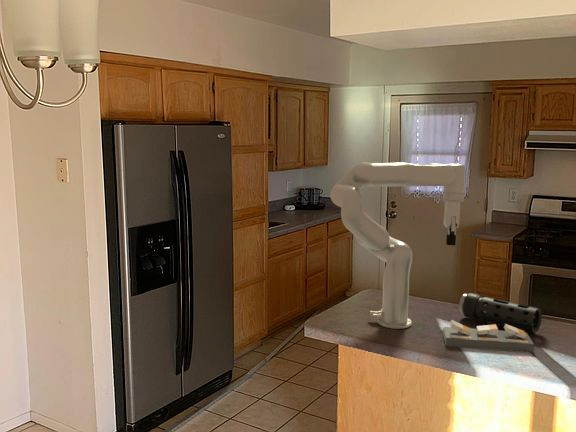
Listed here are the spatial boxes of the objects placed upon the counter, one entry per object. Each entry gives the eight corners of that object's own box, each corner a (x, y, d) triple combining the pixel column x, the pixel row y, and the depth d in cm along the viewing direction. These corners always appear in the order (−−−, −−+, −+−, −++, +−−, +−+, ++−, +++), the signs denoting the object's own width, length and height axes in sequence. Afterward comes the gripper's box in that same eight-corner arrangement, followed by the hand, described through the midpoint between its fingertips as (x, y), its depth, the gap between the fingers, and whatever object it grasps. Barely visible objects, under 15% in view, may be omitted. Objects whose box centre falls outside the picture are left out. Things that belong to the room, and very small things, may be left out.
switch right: (506, 332, 193) (508, 328, 192) (503, 327, 197) (505, 323, 197) (524, 339, 192) (526, 335, 192) (521, 334, 197) (523, 330, 196)
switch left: (451, 327, 196) (453, 324, 195) (449, 322, 200) (451, 319, 200) (468, 335, 195) (470, 332, 195) (466, 330, 200) (468, 327, 199)
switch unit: (445, 346, 194) (446, 335, 193) (442, 334, 205) (443, 324, 204) (533, 352, 189) (534, 341, 188) (525, 340, 200) (526, 330, 199)
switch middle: (478, 334, 194) (478, 330, 194) (476, 329, 199) (476, 325, 199) (498, 332, 193) (498, 328, 193) (496, 328, 198) (495, 323, 198)
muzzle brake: (530, 339, 201) (532, 311, 199) (457, 320, 220) (458, 294, 218) (540, 332, 208) (543, 304, 206) (468, 314, 227) (469, 289, 225)
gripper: (441, 194, 222) (439, 240, 225) (444, 199, 208) (442, 248, 211) (461, 194, 221) (458, 241, 224) (466, 199, 207) (463, 249, 210)
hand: (450, 244), depth 217 cm, fingers closed
